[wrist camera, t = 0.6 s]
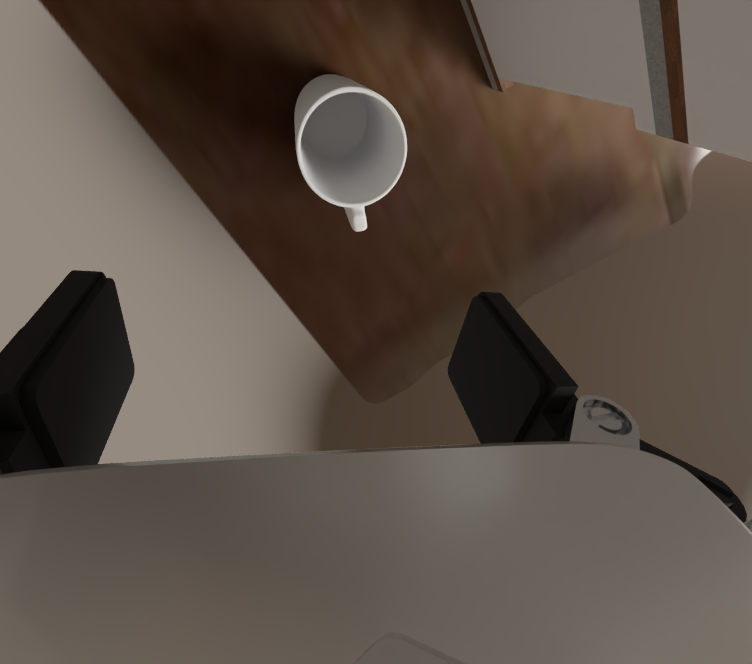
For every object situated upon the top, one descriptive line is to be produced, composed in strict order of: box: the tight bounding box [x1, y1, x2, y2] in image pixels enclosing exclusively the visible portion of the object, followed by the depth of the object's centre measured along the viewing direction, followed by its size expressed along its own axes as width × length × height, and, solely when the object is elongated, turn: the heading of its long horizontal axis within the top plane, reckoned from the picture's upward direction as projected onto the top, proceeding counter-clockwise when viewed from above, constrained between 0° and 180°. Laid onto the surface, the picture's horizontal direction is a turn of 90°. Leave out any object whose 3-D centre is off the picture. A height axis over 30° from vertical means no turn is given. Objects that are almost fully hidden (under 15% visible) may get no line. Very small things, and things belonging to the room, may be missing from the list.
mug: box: [294, 74, 407, 231], centre depth 30 cm, size 10×7×12 cm, turn 5°
